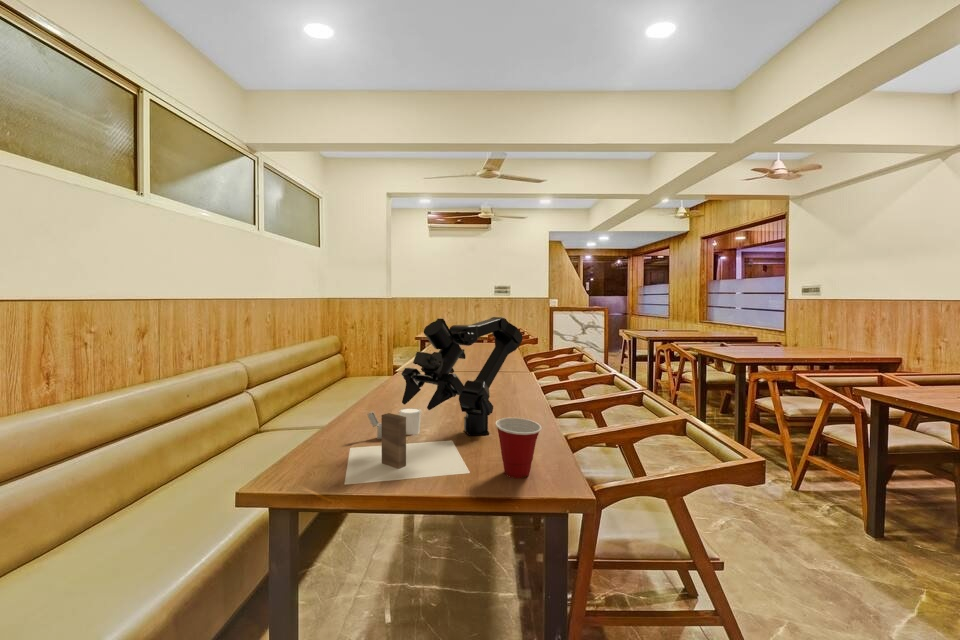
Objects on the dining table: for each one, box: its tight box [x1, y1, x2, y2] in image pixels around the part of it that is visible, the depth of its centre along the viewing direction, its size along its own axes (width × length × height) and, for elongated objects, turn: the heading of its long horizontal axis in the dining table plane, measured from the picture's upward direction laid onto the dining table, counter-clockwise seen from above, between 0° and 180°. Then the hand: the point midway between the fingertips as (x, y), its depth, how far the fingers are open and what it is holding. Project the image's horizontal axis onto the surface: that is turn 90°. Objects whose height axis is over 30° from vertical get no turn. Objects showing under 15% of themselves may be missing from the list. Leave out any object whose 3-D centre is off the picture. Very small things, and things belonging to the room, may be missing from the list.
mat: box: [344, 440, 471, 485], centre depth 108 cm, size 28×24×1 cm
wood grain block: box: [381, 412, 407, 469], centre depth 105 cm, size 3×6×12 cm, turn 54°
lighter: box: [367, 411, 382, 440], centre depth 125 cm, size 7×2×8 cm, turn 85°
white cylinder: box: [398, 407, 422, 436], centre depth 131 cm, size 7×7×7 cm
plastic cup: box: [495, 417, 543, 479], centre depth 100 cm, size 11×11×12 cm
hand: (415, 406), depth 111 cm, fingers open, 9 cm apart
